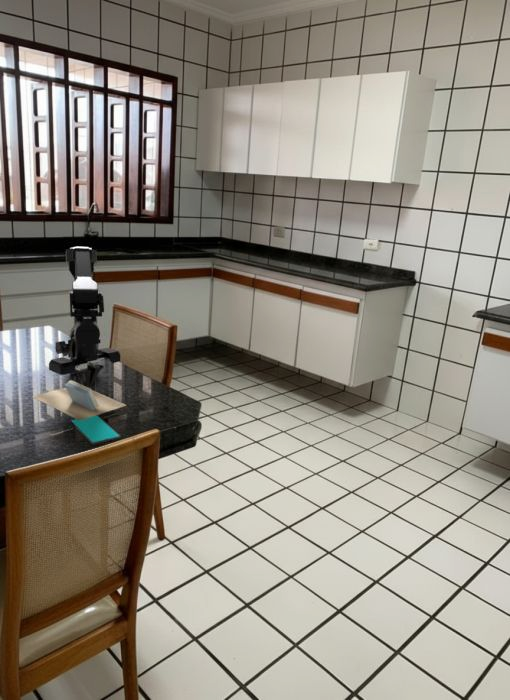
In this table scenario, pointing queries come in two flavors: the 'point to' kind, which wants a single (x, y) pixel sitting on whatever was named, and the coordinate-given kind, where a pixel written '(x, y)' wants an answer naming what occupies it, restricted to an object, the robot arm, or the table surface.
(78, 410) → the mat
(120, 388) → the table surface
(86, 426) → the smartphone
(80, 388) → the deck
